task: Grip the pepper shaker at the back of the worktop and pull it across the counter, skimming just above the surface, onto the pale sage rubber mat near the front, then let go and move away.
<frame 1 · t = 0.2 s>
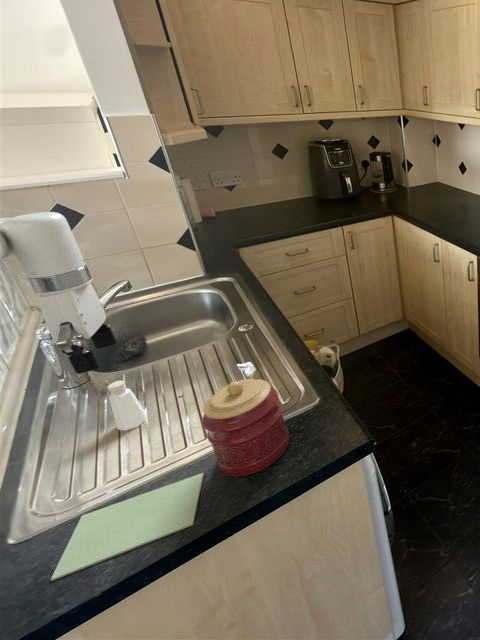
hand: (98, 357, 81), 22 cm above the worktop, tool pointing down, fingers open, 9 cm apart
kitchen canister: (256, 452, 85), on the worktop
pepper shaker: (133, 423, 95), on the worktop
mat: (137, 521, 71), on the worktop
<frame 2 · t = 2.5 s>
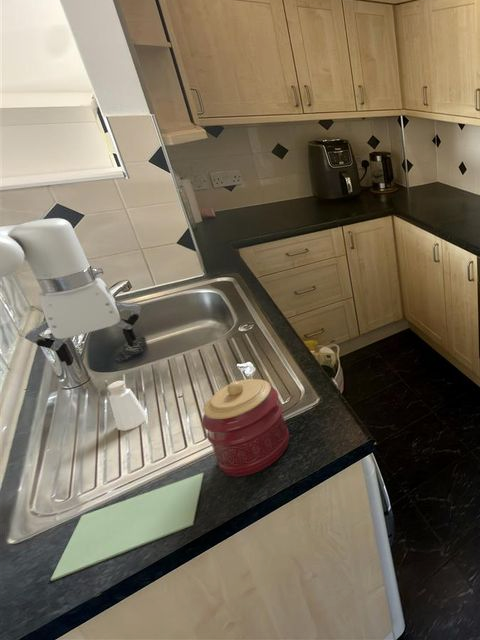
hand: (102, 352, 87), 20 cm above the worktop, tool pointing down, fingers open, 9 cm apart
nothing on the worktop moved.
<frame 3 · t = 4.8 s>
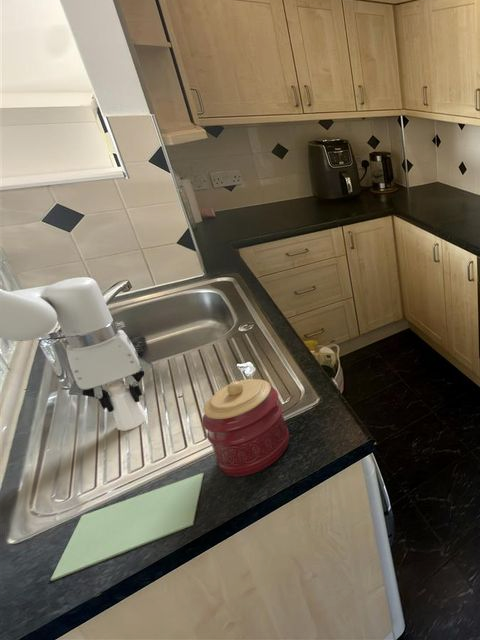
hand: (124, 403, 92), 6 cm above the worktop, tool pointing down, fingers closed on pepper shaker, 3 cm apart
pepper shaker: (133, 423, 95), on the worktop, touching gripper
everything else where it was.
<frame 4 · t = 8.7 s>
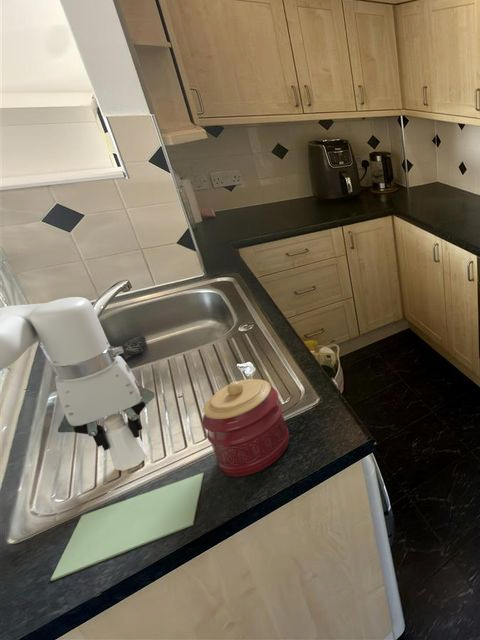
hand: (122, 439, 81), 7 cm above the worktop, tool pointing down, fingers closed on pepper shaker, 3 cm apart
pepper shaker: (132, 461, 83), point 1 cm above the worktop, touching gripper
everything else where it was.
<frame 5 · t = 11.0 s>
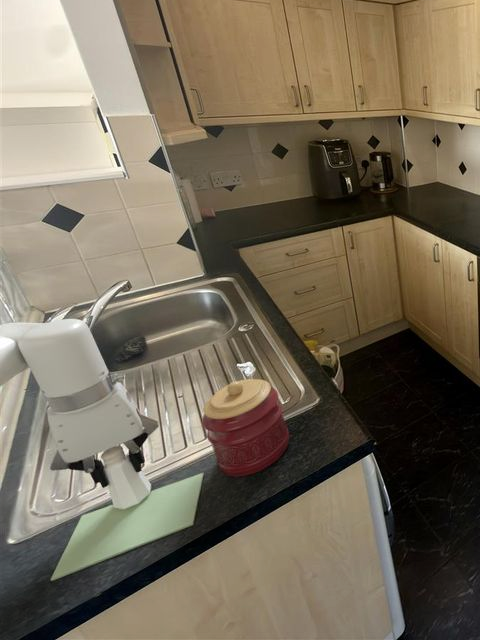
hand: (122, 473, 73), 7 cm above the worktop, tool pointing down, fingers closed on pepper shaker, 3 cm apart
pepper shaker: (133, 497, 75), point 1 cm above the worktop, touching gripper
everything else where it was.
when the fingers open (6 cm above the worktop, at t = 12.6 s): pepper shaker stays where it is, resting on mat.
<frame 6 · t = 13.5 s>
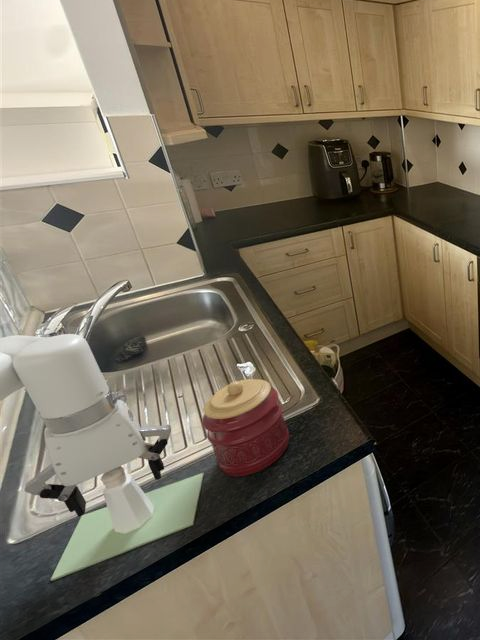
hand: (122, 491, 69), 7 cm above the worktop, tool pointing down, fingers open, 9 cm apart
pepper shaker: (135, 520, 71), resting on mat
everything else where it was.
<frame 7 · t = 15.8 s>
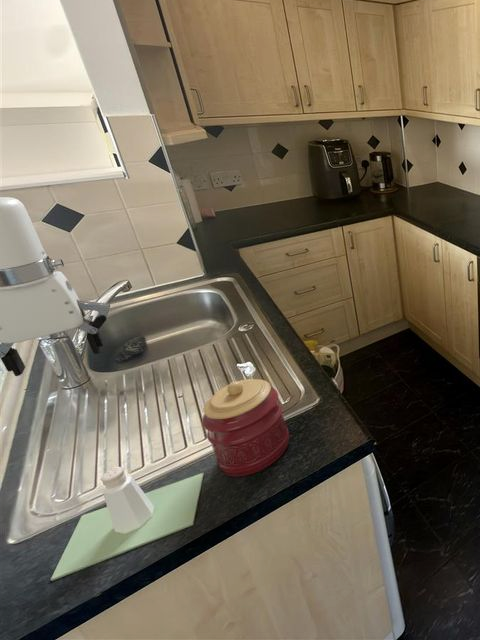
hand: (60, 361, 73), 26 cm above the worktop, tool pointing down, fingers open, 9 cm apart
nothing on the worktop moved.
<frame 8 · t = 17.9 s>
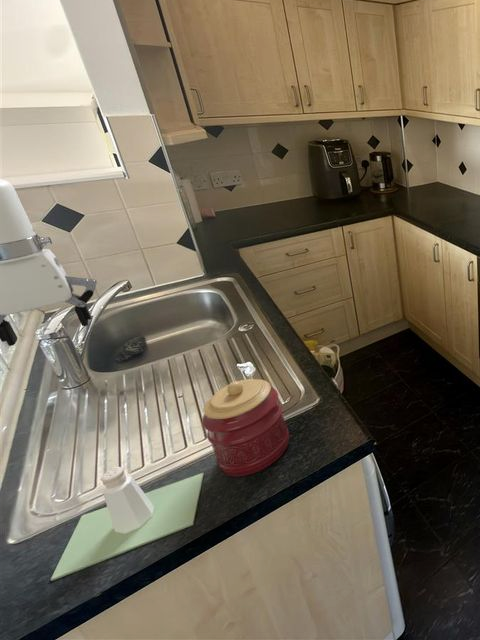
hand: (51, 332, 78), 28 cm above the worktop, tool pointing down, fingers open, 9 cm apart
nothing on the worktop moved.
at the end: pepper shaker inside the target area on the mat (0.1 cm from its centre), point 0.2 cm above the mat's base; pepper shaker tilted 0°; pepper shaker moved 32.9 cm from its start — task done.
